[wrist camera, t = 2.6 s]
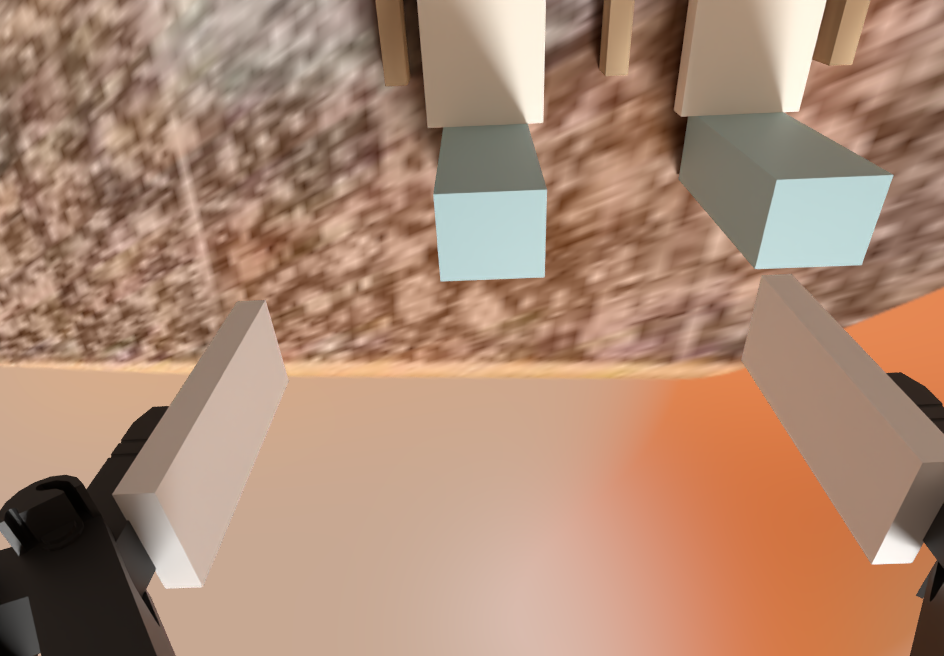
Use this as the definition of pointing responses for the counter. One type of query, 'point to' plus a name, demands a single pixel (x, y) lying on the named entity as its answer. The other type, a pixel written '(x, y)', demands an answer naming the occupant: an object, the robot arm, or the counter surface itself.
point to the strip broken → (769, 138)
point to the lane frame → (629, 36)
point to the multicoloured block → (486, 134)
